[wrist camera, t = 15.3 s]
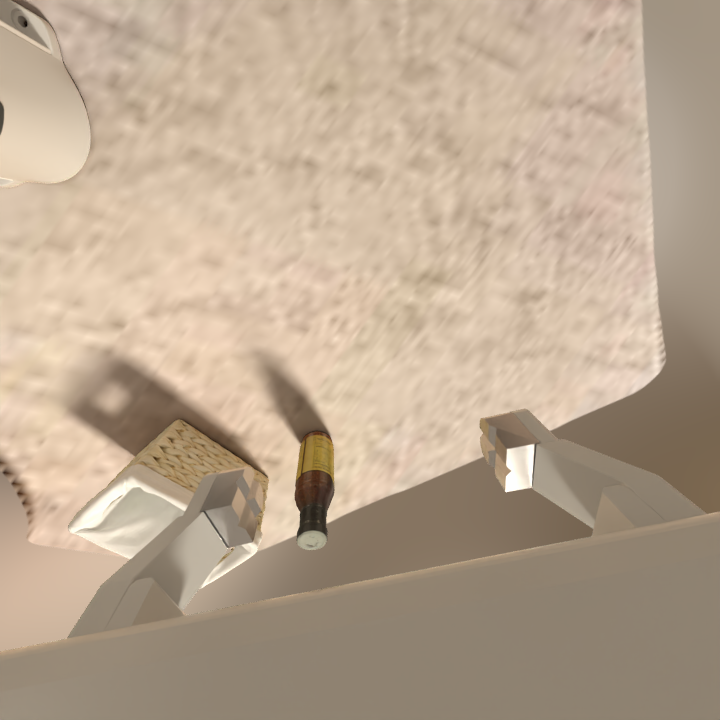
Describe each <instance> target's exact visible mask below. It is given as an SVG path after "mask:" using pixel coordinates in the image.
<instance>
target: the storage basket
mask: <svg viewBox="0 0 720 720" xmlns="http://www.w3.org/2000/svg"><path fill="white" fill-rule="evenodd" d="M247 466H249V467H251V466H250V465H248V464H247V463H245V462H244V461H242V460H241V459H240V458H238V457H237V456H235V455H234V454H232V453H231V452H230V451H228V450H226V449H224V448H223V447H221V446H220V445H219V444H218V443H215V442H214V441H212V440H211V439H209V438H208V437H207V436H206V435H203V434H202V433H201V432H199V431H198V430H196V429H195V428H194V427H192V426H190V425H189V424H187V423H186V422H184V421H183V420H176V421H174V422H173V423H172V424H171V425H170V426H169V427H167V428H166V429H165V430H164V431H163V432H162V433H160V434H159V435H158V436H157V438H156V439H154V440H152V441H151V442H150V443H149V444H148V446H147V447H145V448H144V449H143V450H142V451H141V452H140V453H138V454H137V455H136V457H135V458H134V459H133V460H132V461H131V462H130V463H129V464H128V465H127V467H125V468H124V469H123V470H122V471H121V472H120V473H119V474H118V475H117V476H116V478H114V480H112V481H111V482H110V483H109V484H108V486H107V487H106V488H105V489H103V490H102V491H101V492H99V493H98V494H97V495H96V496H95V497H94V498H92V499H91V500H90V501H89V502H88V503H87V504H86V505H85V506H84V507H83V508H82V509H81V510H80V511H79V512H78V513H77V514H76V515H75V516H74V518H73V519H72V521H71V522H70V523H69V525H68V530H69V532H71V533H72V534H76V535H78V536H80V537H82V538H84V539H86V540H88V541H90V542H92V543H95V544H97V545H99V546H101V547H103V548H105V549H108V550H110V551H112V552H115V553H117V554H119V555H122V556H124V557H126V558H129V559H131V558H132V557H134V556H135V555H136V554H137V553H138V552H139V551H140V550H141V549H143V548H144V547H145V546H146V545H147V544H148V543H149V542H150V541H152V540H153V539H154V538H155V537H156V536H157V535H158V534H159V533H161V532H162V531H163V530H164V529H165V528H166V527H167V526H168V525H170V524H171V523H172V522H173V521H174V520H175V519H176V518H177V517H180V516H183V514H184V512H185V510H186V509H187V507H188V505H189V503H190V501H191V499H192V497H193V495H194V493H195V491H196V490H197V488H198V486H199V484H200V482H201V480H202V478H203V477H204V476H205V475H206V474H209V473H215V472H221V471H224V470H230V469H236V468H241V467H247ZM251 468H252V470H253V471H254V473H255V475H254V478H253V479H254V480H255V481H257V482H259V483H260V485H261V487H262V491H263V506H262V510H261V512H260V513H259V514H258V515H257V516H256V520H257V522H258V526H257V529H256V533H255V537H254V541H253V542H252V543H248V544H243V545H239V546H235V548H234V549H233V548H232V549H231V550H233V551H231V552H230V553H228V554H226V555H224V556H223V557H222V558H221V560H220V561H219V562H218V564H217V565H216V567H215V568H214V569H213V571H212V572H211V573H210V575H209V576H208V577H207V579H206V580H205V581H204V583H203V584H202V586H201V587H200V588H203V587H204V586H205V585H207V584H209V583H211V582H213V581H214V580H216V579H217V578H219V577H221V576H222V575H224V574H225V573H227V572H228V571H230V570H231V569H233V568H234V567H236V566H238V565H239V564H241V563H242V562H244V561H245V560H247V559H248V558H250V557H251V556H252V555H254V554H255V553H256V552H257V549H258V546H259V543H260V542H261V540H262V533H261V524H262V519H263V515H264V514H263V512H264V511H265V501H266V498H267V496H266V492H267V490H268V483H269V479H268V478H267V477H266V476H264V475H263V474H261V473H260V472H259V471H257V470H256V469H254V468H253V467H251Z"/></svg>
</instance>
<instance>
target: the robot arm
mask: <svg viewBox="0 0 720 720" xmlns="http://www.w3.org/2000/svg"><path fill="white" fill-rule="evenodd" d="M26 20H27V23H28V25H27V27H25V24H24V23H25V21H26ZM90 141H91V133H90V124H89V119H88V115H87V111H86V108H85V105H84V103H83V100H82V98H81V96H80V94H79V92H78V90H77V88H76V86H75V84H74V82H73V81H72V79H71V77H70V76H69V74H68V72H67V70H66V68H65V66H64V64H63V60H62V56H61V52H60V48H59V44H58V41H57V38H56V35H55V33H54V31H53V29H52V27H51V26H50V24H49V23H48V22H47V21H45V20H44V19H43V18H41V17H39V16H38V15H36V14H34V13H33V12H31V11H29V10H28V9H26V8H24V7H23V6H21V5H19V4H18V3H16V2H14V1H12V0H0V187H4V188H11V187H15V186H17V185H20V184H22V183H24V182H37V183H58V182H62V181H65V180H67V179H70V178H71V177H73V176H74V175H75V174H77V173H78V172H79V171H80V169H81V168H82V167H83V165H84V164H85V162H86V159H87V157H88V154H89V150H90ZM480 429H481V430H482V432H483V434H482V436H481V437H480V444H481V449H482V453H483V455H484V457H485V459H486V461H487V463H488V464H489V465H490V466H492V467H493V468H495V476H496V477H497V479H498V481H499V482H500V483H501V485H502V487H503V488H504V490H505V492H508V491H514V490H520V489H526V488H531V487H533V489H534V490H535V491H537V492H539V493H540V494H541V495H543V496H545V497H546V498H547V499H549V500H550V501H552V502H554V503H555V504H557V505H558V506H560V507H561V508H563V509H564V510H566V511H567V512H569V513H570V514H572V515H573V516H575V517H576V518H578V519H579V520H581V521H582V522H584V523H585V524H587V525H588V526H590V527H591V528H593V533H592V537H587V538H582V539H576V540H572V541H566V542H561V543H556V544H551V545H545V546H541V547H535V548H530V549H525V550H520V551H515V552H509V553H505V554H499V555H494V556H490V557H484V558H479V559H474V560H469V561H464V562H458V563H453V564H448V565H443V566H438V567H433V568H428V569H423V570H418V571H413V572H407V573H402V574H397V575H392V576H387V577H382V578H377V579H371V580H366V581H361V582H356V583H351V584H346V585H340V586H336V587H330V588H325V589H320V590H314V591H309V592H304V593H299V594H294V595H289V596H284V597H278V598H273V599H269V600H263V601H258V602H253V603H248V604H242V605H237V606H232V607H227V608H222V609H217V610H212V611H206V612H201V613H196V614H191V615H186V614H185V613H184V612H183V610H184V609H185V607H186V606H187V605H188V603H189V602H190V600H191V599H192V597H193V596H194V595H195V594H196V592H197V591H198V590H199V588H200V587H201V586H202V584H203V583H204V581H205V580H206V579H207V577H208V576H209V575H210V573H211V572H212V571H213V569H214V568H215V567H216V565H217V564H218V562H219V561H220V560H221V558H222V557H223V556H224V554H225V553H226V552H227V550H228V548H230V547H235V546H239V545H243V544H248V543H252V542H253V541H254V537H255V533H256V529H257V526H258V522H257V520H256V516H257V515H258V514H259V513H260V512H261V510H262V506H263V491H262V487H261V485H260V483H259V482H257V481H255V480H254V479H253V478H254V475H255V473H254V471H253V470H252V468H251V467H249V466H247V467H241V468H236V469H230V470H224V471H221V472H215V473H209V474H206V475H205V476H204V477H203V478H202V480H201V482H200V484H199V486H198V488H197V490H196V491H195V493H194V495H193V497H192V499H191V501H190V503H189V505H188V507H187V509H186V510H185V512H184V514H183V516H180V517H177V518H176V519H175V520H174V521H173V522H172V523H171V524H170V525H168V526H167V527H166V528H165V529H164V530H163V531H162V532H161V533H159V534H158V535H157V536H156V537H155V538H154V539H153V540H152V541H150V542H149V543H148V544H147V545H146V546H145V547H144V548H143V549H141V550H140V551H139V552H138V553H137V554H136V555H135V556H134V557H132V558H131V559H130V560H129V561H128V562H127V563H126V564H125V565H123V566H122V567H121V568H120V569H119V570H118V571H117V572H116V573H115V574H113V575H112V576H111V577H110V578H109V579H108V580H107V581H106V582H104V583H103V584H102V585H101V586H100V588H99V589H98V591H97V593H96V594H95V596H94V597H93V599H92V600H91V602H90V604H89V605H88V606H87V608H86V610H85V611H84V613H83V614H82V616H81V617H80V619H79V620H78V622H77V623H76V625H75V627H74V628H73V630H72V631H71V633H70V634H69V636H68V637H67V639H62V640H58V641H52V642H47V643H42V644H37V645H32V646H27V647H21V648H16V649H11V650H6V651H1V652H0V720H720V512H716V513H710V514H706V513H705V512H704V511H702V510H701V509H700V508H699V507H697V506H696V505H695V504H694V503H692V502H691V501H690V500H688V499H687V498H686V497H685V496H684V495H682V494H681V493H680V492H679V491H677V490H676V489H675V488H674V487H672V486H671V485H670V484H669V483H667V482H666V481H665V480H663V479H662V478H661V477H660V476H658V475H656V474H653V473H651V472H648V471H645V470H643V469H640V468H638V467H635V466H632V465H630V464H627V463H624V462H622V461H619V460H617V459H614V458H612V457H609V456H606V455H604V454H601V453H598V452H596V451H593V450H591V449H588V448H585V447H583V446H580V445H577V444H575V443H572V442H569V441H567V440H564V439H560V440H558V439H557V438H556V437H555V436H554V435H553V434H552V433H551V432H550V431H549V430H548V429H547V428H546V427H545V426H544V425H543V424H542V423H541V422H540V421H539V420H538V419H537V418H536V417H535V416H534V415H533V414H532V413H531V412H529V411H528V410H527V409H521V410H516V411H512V412H510V413H504V414H499V415H494V416H490V417H485V418H481V420H480Z"/></svg>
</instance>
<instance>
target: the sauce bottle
mask: <svg viewBox="0 0 720 720" xmlns="http://www.w3.org/2000/svg"><path fill="white" fill-rule="evenodd" d="M295 486H296V490H295V501H296V505H297V507H298V509H299V511H300V527H299V529H298V532H297V543H298V545H299V546H300V547H301V548H303V549H306V550H314V549H319V548H321V547H323V546H324V545H325V543H326V541H327V528H326V516H327V510H328V508H329V505H330V503H331V500H332V498H333V495H334V449H333V444H332V440H331V438H330V437H329V436H328V435H327V434H325V433H323V432H319V431H316V432H312V433H309V434H307V435H306V436H305V437H304V438H303V440H302V444H301V446H300V453H299V461H298V469H297V476H296V485H295Z"/></svg>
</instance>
